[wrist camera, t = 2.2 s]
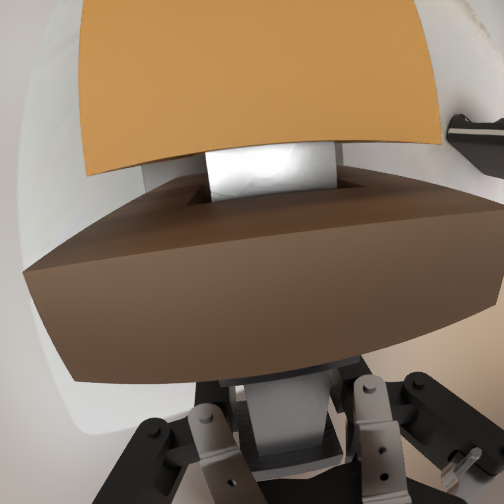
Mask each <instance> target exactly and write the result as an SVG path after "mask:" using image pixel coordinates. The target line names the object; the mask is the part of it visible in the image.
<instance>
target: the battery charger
mask: <svg viewBox="0 0 504 504" xmlns="http://www.w3.org/2000/svg"><path fill="white" fill-rule="evenodd" d="M448 134H449V135H448V140H449V142H450V143H451V144H452V145H454V146H455V147H456V148H457V149H458V150H459V151H460V152H461V153H462V154H464V155H465V156H466V157H467V158H468V159H469V160H470V161H471V162H472V163H473V164H474V165H475V166H476V167H477V168H478V169H479V170H480V171H482V172H483V173H484V174H485V175H488V176H493V177H497V178H501V179H504V118H501V119H500V120H498V121H496V122H494V123H472V122H471V121H470V120H469V119H468V118H467V117H466V116H464V115H463V114H458V115H456V116H455V117H454V118H453V121H452V123H451V127H450V129H449V131H448Z"/></svg>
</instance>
